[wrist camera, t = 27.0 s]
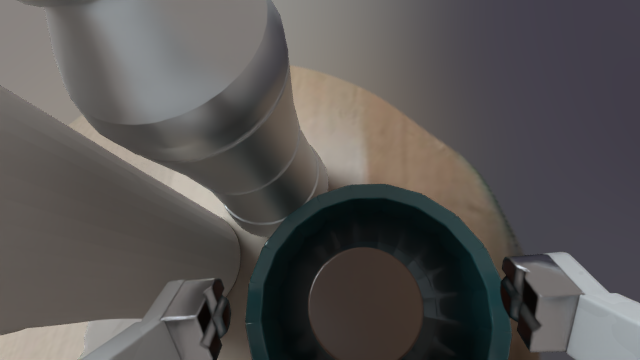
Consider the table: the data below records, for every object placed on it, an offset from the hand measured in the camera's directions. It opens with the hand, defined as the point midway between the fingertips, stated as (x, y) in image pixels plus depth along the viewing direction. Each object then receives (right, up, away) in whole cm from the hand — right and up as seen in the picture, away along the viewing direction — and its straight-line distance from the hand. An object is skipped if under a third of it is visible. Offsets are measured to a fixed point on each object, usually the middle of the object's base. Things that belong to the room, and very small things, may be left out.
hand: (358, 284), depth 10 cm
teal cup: (+2, -5, +11) cm, 12 cm away
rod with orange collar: (+2, -4, +10) cm, 11 cm away
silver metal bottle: (-3, +2, +14) cm, 15 cm away
